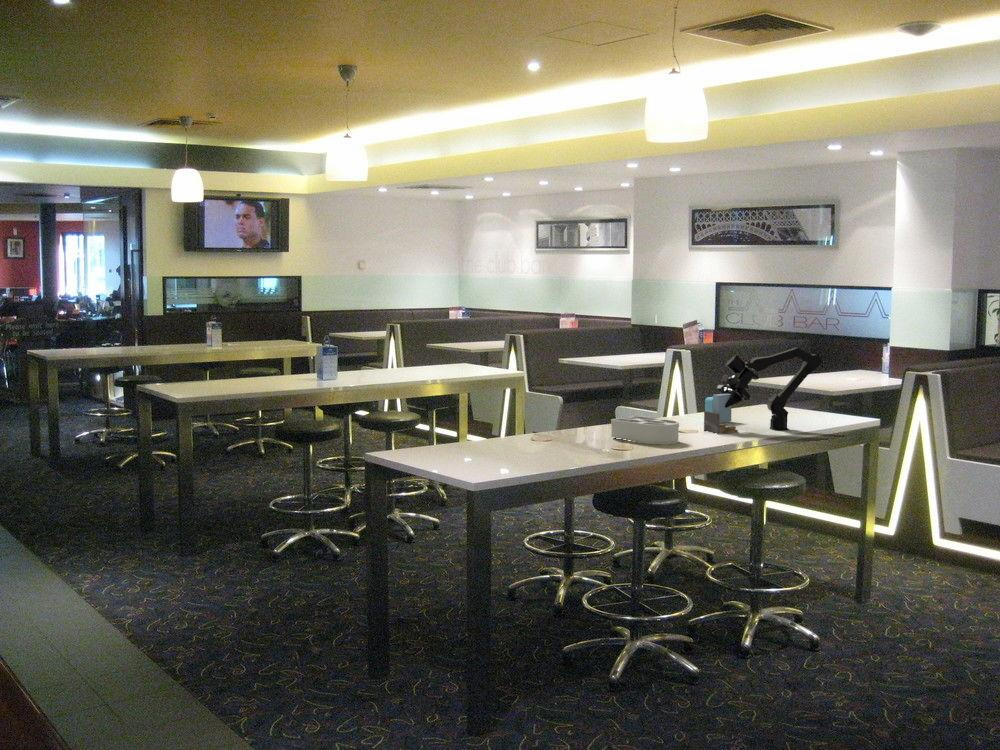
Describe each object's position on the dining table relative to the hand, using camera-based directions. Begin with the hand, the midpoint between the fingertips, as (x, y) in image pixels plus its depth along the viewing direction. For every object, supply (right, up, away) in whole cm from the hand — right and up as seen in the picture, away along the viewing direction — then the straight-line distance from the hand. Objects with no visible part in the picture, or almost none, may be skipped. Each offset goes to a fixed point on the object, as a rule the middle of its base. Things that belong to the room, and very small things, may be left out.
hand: (722, 406), depth 452 cm
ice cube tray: (-36, -14, -21) cm, 44 cm away
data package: (+4, -9, +30) cm, 32 cm away
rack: (-1, -11, +1) cm, 11 cm away
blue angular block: (0, -7, +1) cm, 7 cm away
